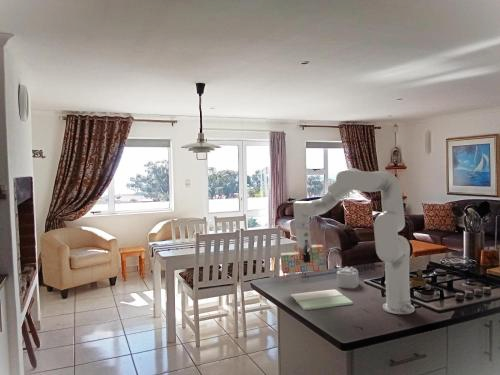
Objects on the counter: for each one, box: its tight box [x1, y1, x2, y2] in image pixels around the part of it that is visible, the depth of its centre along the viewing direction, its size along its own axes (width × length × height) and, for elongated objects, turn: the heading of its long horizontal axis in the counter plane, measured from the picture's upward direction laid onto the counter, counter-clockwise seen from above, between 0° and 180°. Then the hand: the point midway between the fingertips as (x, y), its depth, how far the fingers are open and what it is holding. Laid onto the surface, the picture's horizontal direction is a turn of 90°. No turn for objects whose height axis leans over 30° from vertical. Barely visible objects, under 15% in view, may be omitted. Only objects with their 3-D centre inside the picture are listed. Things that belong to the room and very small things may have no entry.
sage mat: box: [297, 295, 354, 311], centre depth 172 cm, size 9×23×1 cm, turn 101°
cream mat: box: [290, 288, 344, 303], centre depth 182 cm, size 9×23×1 cm, turn 101°
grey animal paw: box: [336, 266, 360, 289], centre depth 199 cm, size 10×13×9 cm
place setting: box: [410, 268, 427, 287], centre depth 190 cm, size 18×20×6 cm
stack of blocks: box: [280, 244, 326, 274], centre depth 191 cm, size 21×6×12 cm, turn 90°
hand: (304, 260), depth 191 cm, fingers closed on stack of blocks, 6 cm apart
